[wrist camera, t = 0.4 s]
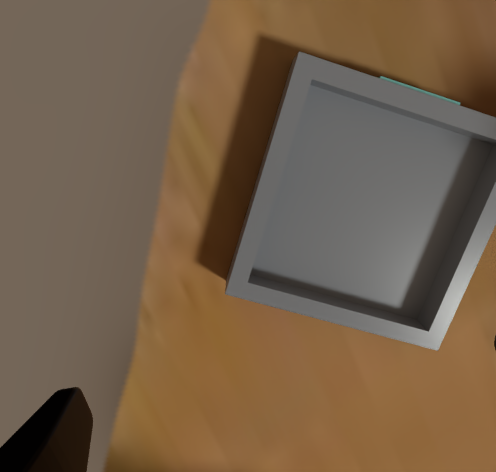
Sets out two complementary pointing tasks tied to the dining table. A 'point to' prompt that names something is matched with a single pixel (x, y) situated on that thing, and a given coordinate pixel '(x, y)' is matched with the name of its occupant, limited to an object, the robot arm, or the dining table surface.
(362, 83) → the tray
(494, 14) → the dining table surface
